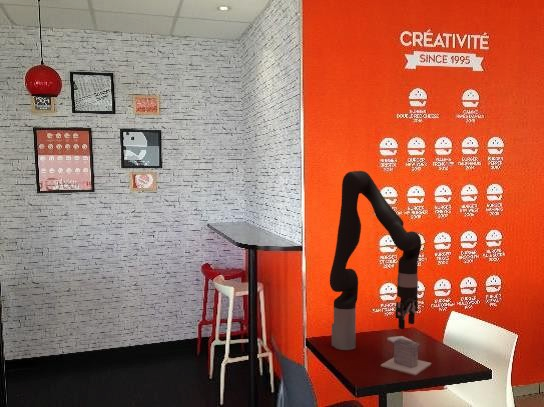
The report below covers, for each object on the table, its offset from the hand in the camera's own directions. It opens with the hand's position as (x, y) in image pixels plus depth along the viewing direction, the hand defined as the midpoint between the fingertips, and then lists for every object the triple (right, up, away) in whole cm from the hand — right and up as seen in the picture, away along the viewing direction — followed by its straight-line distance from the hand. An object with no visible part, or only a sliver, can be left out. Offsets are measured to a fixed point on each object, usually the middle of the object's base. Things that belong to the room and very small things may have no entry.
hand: (406, 326), depth 190 cm
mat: (0, -15, 0) cm, 15 cm away
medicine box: (0, -15, 0) cm, 15 cm away
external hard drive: (+6, -15, +26) cm, 31 cm away
